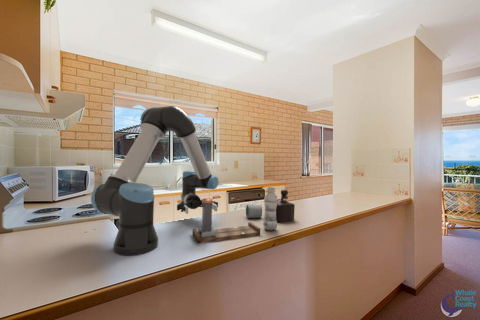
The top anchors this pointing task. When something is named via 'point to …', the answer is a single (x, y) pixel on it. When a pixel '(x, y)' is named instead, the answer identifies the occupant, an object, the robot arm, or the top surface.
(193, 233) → the fader track
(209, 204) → the grey upright piece
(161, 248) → the top surface
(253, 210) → the ceramic mug
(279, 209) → the black block with knob
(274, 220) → the plastic bottle
